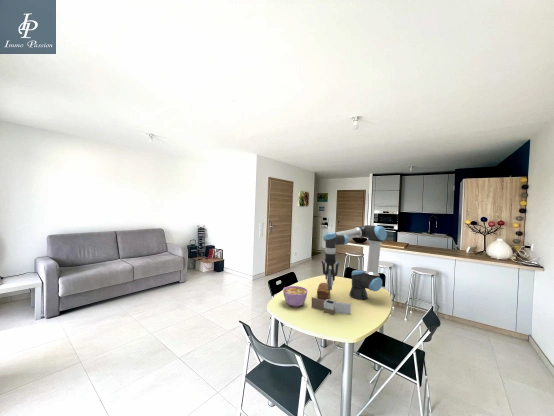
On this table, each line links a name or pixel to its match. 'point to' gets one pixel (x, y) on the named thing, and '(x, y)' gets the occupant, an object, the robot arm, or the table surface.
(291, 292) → the bowl of food
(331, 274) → the hinge pin
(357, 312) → the table surface
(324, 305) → the hinge leaves
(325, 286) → the bread
